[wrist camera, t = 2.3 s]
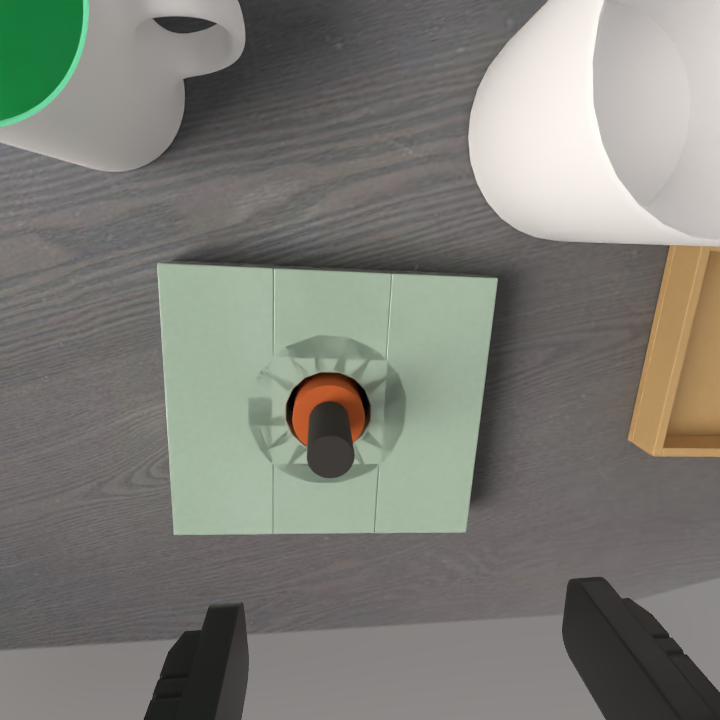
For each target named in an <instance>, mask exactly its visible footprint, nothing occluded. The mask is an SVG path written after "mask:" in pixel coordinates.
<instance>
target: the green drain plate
mask: <svg viewBox="0 0 720 720" xmlns="http://www.w3.org/2000/svg"><path fill="white" fill-rule="evenodd" d="M157 271H158V287H159V303H160V319H161V335H162V351H163V367H164V383H165V399H166V415H167V431H168V447H169V463H170V479H171V495H172V512H173V528H174V535H219V534H273V533H274V534H311V533H374V532H375V533H441V532H466V528H467V520H468V512H469V504H470V496H471V488H472V481H473V473H474V465H475V457H476V449H477V441H478V433H479V425H480V417H481V409H482V402H483V394H484V386H485V378H486V370H487V362H488V354H489V346H490V338H491V330H492V322H493V315H494V307H495V299H496V291H497V283H498V279H497V278H494V277H490V276H486V275H482V274H460V273H438V272H416V271H394V270H386V271H385V270H372V269H350V268H328V267H306V266H284V265H278V266H277V265H262V264H240V263H218V262H195V261H173V260H172V261H167V262H162V263H157ZM320 372H334V373H341V374H343V375H346V376H348V377H350V378H353V379H354V380H355V381H356V382H357V383H358V384H359V385H360V386H361V387H362V388H363V389H364V390H365V392H366V407H365V409H364V413H365V422H364V427H363V430H362V432H361V434H360V436H359V437H358V438H357V440H356V441H355V442H354V443H353V447H354V454H355V458H354V463H353V465H352V467H351V468H350V469H349V471H348V472H347V473H345V474H344V475H342V476H340V477H337V478H323V477H320V476H318V475H317V474H315V473H314V472H313V471H312V470H311V469H310V467H309V465H308V463H307V445H305V444H304V443H303V442H302V441H301V440H300V439H299V438H298V436H297V434H296V433H295V430H294V427H293V421H292V417H293V413H292V411H291V409H290V406H289V397H290V395H291V393H292V390H293V389H294V388H295V387H296V386H297V385H298V384H299V383H300V382H301V381H302V380H304V379H305V378H306V377H309V376H312V375H315V374H317V373H320Z"/></svg>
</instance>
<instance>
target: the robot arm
mask: <svg viewBox="0 0 720 720" xmlns="http://www.w3.org/2000/svg"><path fill="white" fill-rule="evenodd" d="M562 634H563V641H564V645H565V648H566V650H567V653H568V655H569V657H570V659H571V661H572V662H573V664H574V666H575V668H576V669H577V671H578V673H579V675H580V676H581V678H582V680H583V681H584V683H585V685H586V687H587V688H588V690H589V692H590V693H591V695H592V697H593V698H594V700H595V702H596V703H597V705H598V707H599V709H600V710H601V712H602V714H603V716H604V717H605V719H606V720H720V692H719V691H718V690H717V689H716V688H715V687H714V685H713V684H712V683H711V682H710V681H709V680H708V679H707V677H706V676H705V675H704V674H703V673H702V672H701V670H700V669H699V668H698V667H697V666H696V665H695V664H694V662H693V661H692V660H691V659H690V658H689V657H688V656H687V655H685V654H684V653H683V650H682V649H681V647H679V645H678V644H677V643H676V642H675V641H674V639H673V638H670V637H669V634H668V633H667V631H666V630H665V629H664V628H663V627H662V626H661V624H660V623H659V622H658V621H657V620H656V619H655V618H654V616H653V615H652V614H650V613H649V612H648V611H646V610H645V609H644V608H642V607H641V606H639V605H638V604H636V603H635V602H634V601H632V600H631V599H629V598H625V599H622V598H621V597H620V596H619V595H618V594H617V592H616V591H615V590H614V589H613V588H612V586H611V585H610V584H609V583H608V582H607V580H605V579H604V578H602V577H590V578H577V579H571V580H569V582H568V585H567V593H566V601H565V609H564V617H563V627H562ZM248 666H249V655H248V644H247V633H246V623H245V613H244V605H243V603H242V602H237V603H224V604H211V605H210V606H209V608H208V611H207V614H206V618H205V621H204V624H203V627H202V630H198V631H185V632H184V633H183V635H182V636H181V637H180V638H179V640H178V641H177V642H176V643H175V644H174V646H173V647H172V648H171V649H170V651H169V652H168V655H167V657H166V660H165V663H164V665H163V669H162V671H161V674H160V679H159V680H158V682H157V685H156V687H155V690H154V693H153V698H152V700H151V701H150V704H149V706H148V709H147V712H146V715H145V717H144V720H241V718H242V712H243V706H244V700H245V694H246V688H247V681H248V668H249V667H248Z"/></svg>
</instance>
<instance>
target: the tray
mask: <svg viewBox="0 0 720 720" xmlns="http://www.w3.org/2000/svg"><path fill="white" fill-rule="evenodd" d="M628 440H629V441H631V442H633V443H634V444H635V445H637V446H638V447H640V448H641V449H643V450H644V451H646V452H647V453H649V454H650V455H652V456H680V457H720V247H712V246H683V245H670V247H669V251H668V256H667V261H666V265H665V270H664V274H663V279H662V283H661V288H660V293H659V297H658V302H657V306H656V311H655V316H654V320H653V325H652V329H651V334H650V339H649V343H648V348H647V352H646V357H645V362H644V366H643V371H642V375H641V380H640V384H639V389H638V394H637V398H636V403H635V407H634V412H633V417H632V421H631V426H630V430H629V435H628Z"/></svg>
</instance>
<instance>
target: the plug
mask: <svg viewBox="0 0 720 720" xmlns="http://www.w3.org/2000/svg"><path fill="white" fill-rule="evenodd" d="M292 421H293V427H294V430H295V433H296V434H297V436H298V438H299V439H300V440H301V441H302V442H303V443H304V444H305V445H307V463H308V465H309V467H310V469H311V470H312V471H313V472H314V473H315V474H317V475H318V476H320V477H323V478H337V477H340V476H342V475H344V474H345V473H347V472H348V471H349V469H350V468H351V467H352V465H353V463H354V458H355V454H354V447H353V443H354V442H355V441H356V440H357V438H358V437H359V436H360V434H361V432H362V430H363V427H364V422H365V413H364V408H363V404H362V400H361V397H360V393H359V389H358V386H357V384H356V382H355V381H354V379H353V378H350V377H348V376H346V375H343V374H341V373H334V372H320V373H317V374H315V375H312V376H309V377H306V378H305V379H304V380H302V381H301V382H300V383H299V385H298V388H297V390H296V395H295V402H294V409H293V417H292Z"/></svg>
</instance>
